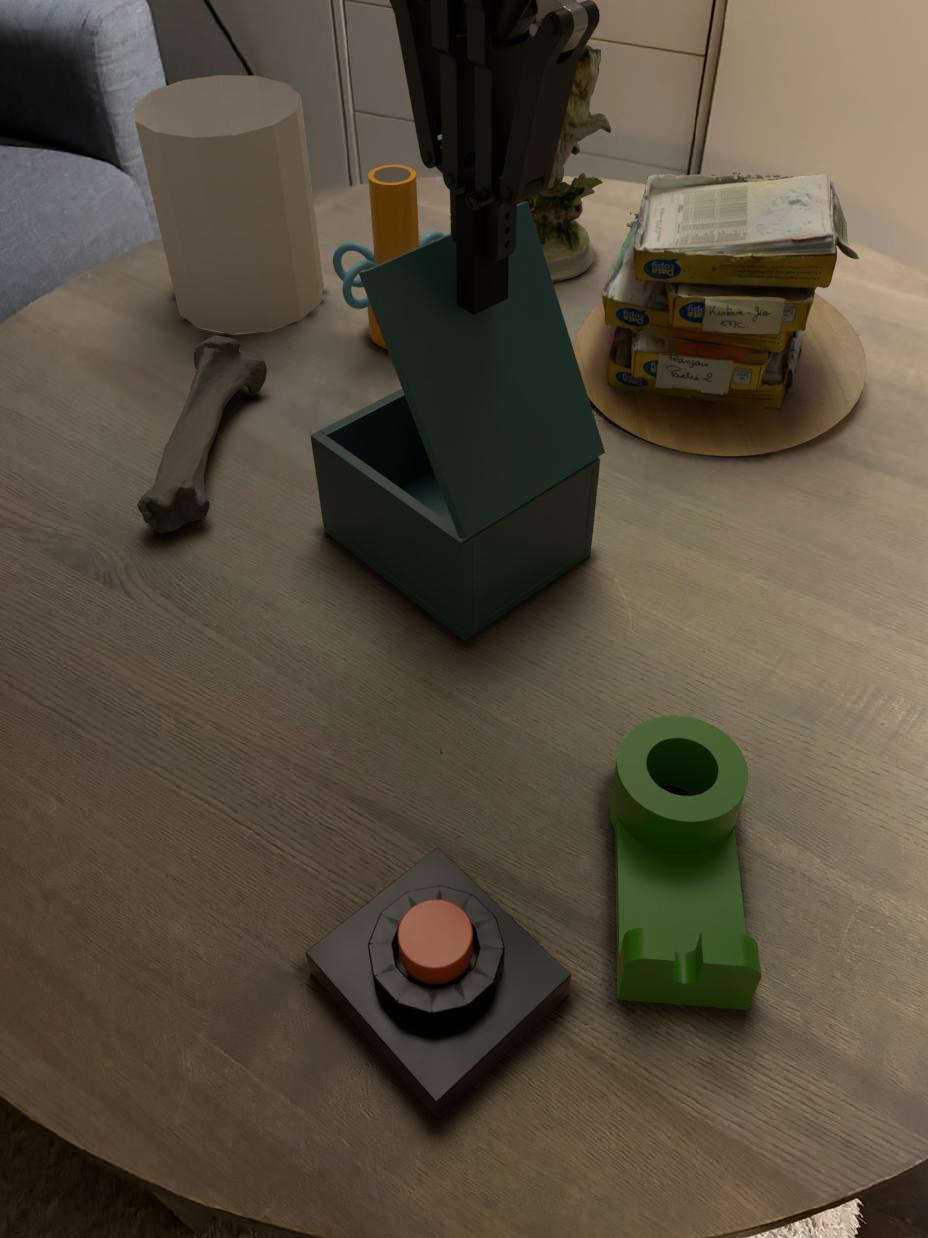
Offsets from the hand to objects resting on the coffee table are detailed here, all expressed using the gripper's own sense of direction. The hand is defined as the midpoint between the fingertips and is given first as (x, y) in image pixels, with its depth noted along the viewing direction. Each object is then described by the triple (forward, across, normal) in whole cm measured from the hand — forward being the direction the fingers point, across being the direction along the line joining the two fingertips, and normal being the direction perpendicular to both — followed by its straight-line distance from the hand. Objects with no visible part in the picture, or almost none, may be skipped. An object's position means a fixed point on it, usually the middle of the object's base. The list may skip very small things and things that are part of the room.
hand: (482, 301), depth 61 cm
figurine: (+21, -30, +36) cm, 51 cm away
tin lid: (+4, +1, 0) cm, 4 cm away
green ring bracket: (+21, +26, -10) cm, 35 cm away
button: (+17, +22, -23) cm, 36 cm away
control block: (+21, +22, -24) cm, 38 cm away
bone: (+21, -25, -7) cm, 33 cm away
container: (+21, -44, +10) cm, 50 cm away
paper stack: (+21, -4, +32) cm, 38 cm away
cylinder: (+21, -28, +16) cm, 38 cm away
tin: (+21, -3, 0) cm, 21 cm away
